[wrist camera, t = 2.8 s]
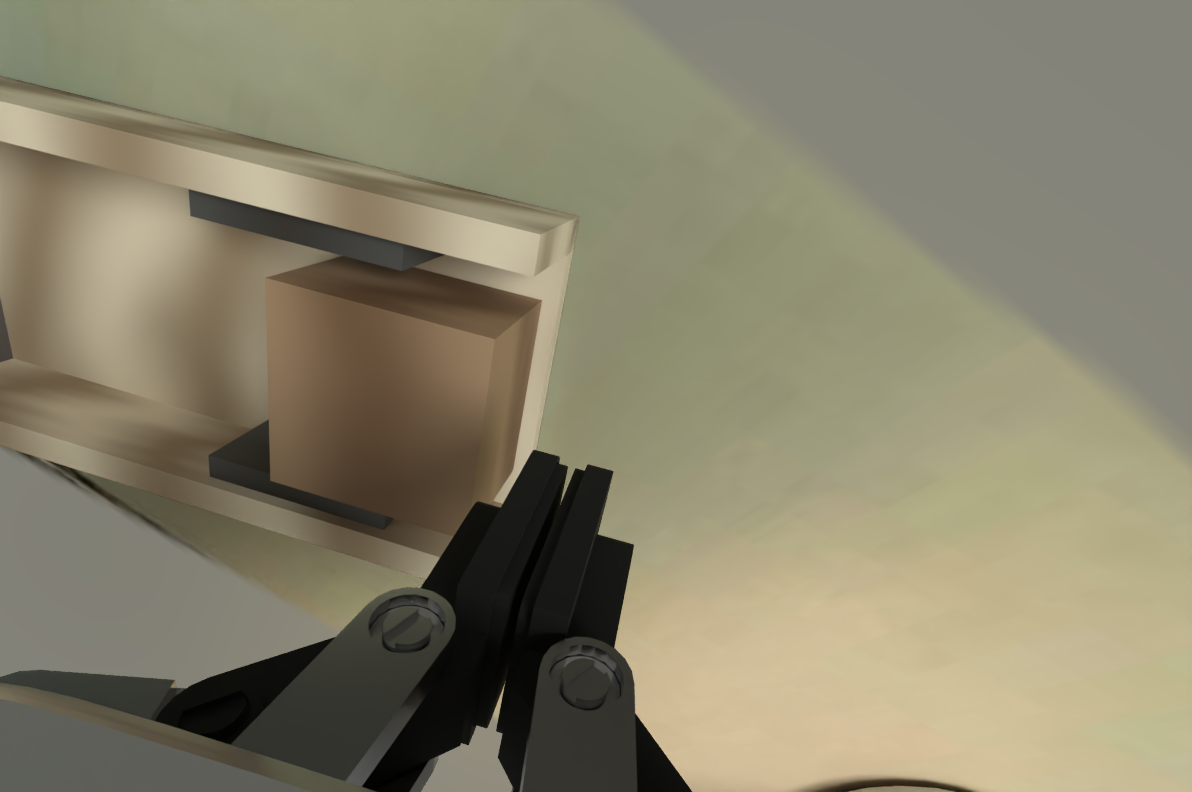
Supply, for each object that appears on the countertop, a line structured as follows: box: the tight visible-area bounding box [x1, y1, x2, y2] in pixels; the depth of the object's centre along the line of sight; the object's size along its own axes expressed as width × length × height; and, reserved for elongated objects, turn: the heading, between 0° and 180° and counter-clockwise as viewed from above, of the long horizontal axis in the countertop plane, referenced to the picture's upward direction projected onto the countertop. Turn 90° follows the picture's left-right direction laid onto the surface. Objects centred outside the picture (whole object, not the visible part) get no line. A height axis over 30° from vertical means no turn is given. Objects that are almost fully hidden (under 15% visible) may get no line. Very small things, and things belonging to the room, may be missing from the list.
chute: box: [0, 76, 580, 579], centre depth 19 cm, size 22×11×4 cm, turn 79°
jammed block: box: [265, 256, 542, 536], centre depth 18 cm, size 6×6×4 cm
